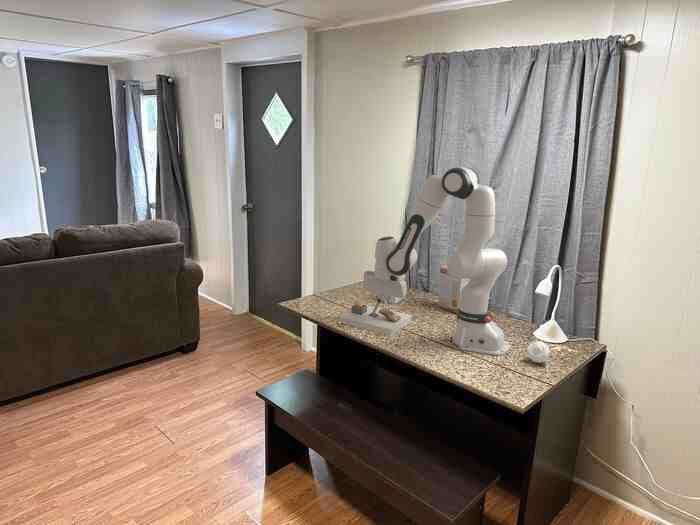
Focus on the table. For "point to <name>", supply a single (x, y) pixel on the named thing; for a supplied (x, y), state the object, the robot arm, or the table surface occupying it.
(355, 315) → the switch panel
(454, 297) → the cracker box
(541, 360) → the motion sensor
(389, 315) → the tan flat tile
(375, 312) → the toggle lever
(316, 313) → the table surface
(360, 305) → the push button
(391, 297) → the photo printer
